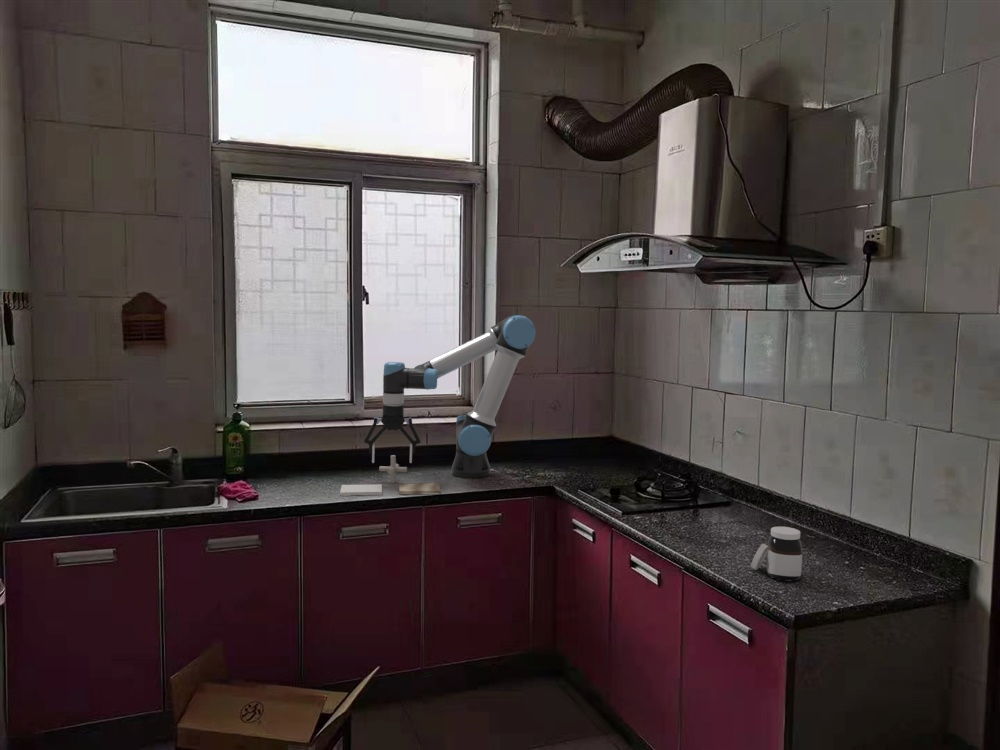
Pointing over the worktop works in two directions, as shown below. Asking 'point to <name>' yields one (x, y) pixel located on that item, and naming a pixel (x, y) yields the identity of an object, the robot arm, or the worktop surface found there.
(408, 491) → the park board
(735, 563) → the worktop surface
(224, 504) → the worktop surface
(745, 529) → the worktop surface
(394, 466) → the pipe connector
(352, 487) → the tile
